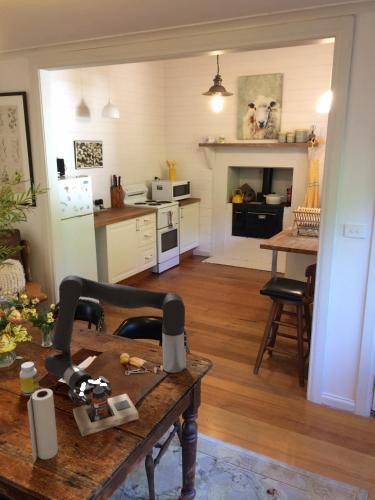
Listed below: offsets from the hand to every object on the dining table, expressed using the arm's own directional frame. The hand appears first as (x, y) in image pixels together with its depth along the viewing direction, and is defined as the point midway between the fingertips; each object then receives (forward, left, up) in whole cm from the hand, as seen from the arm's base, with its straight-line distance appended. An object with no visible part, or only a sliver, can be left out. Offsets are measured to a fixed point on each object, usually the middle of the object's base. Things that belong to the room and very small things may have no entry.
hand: (100, 398), depth 144 cm
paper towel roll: (+20, +8, -9) cm, 24 cm away
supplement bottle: (0, -1, -9) cm, 9 cm away
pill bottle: (+20, -30, -9) cm, 37 cm away
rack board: (-2, -1, -8) cm, 9 cm away
